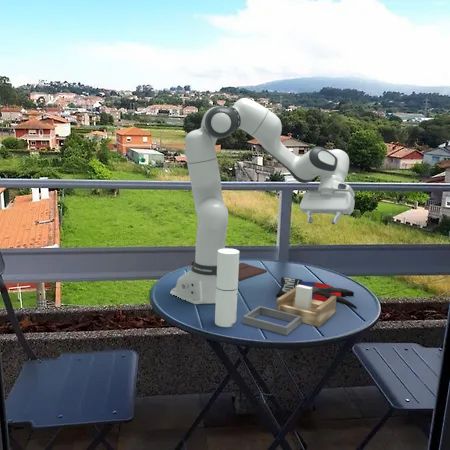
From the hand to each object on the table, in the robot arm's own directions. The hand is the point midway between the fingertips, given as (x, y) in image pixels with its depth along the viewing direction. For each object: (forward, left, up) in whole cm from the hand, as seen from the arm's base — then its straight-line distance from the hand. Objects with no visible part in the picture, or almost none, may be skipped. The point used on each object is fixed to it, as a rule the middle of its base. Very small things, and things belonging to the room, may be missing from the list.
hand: (321, 223), depth 174 cm
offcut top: (+1, -9, -28) cm, 29 cm away
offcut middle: (+1, -9, -30) cm, 31 cm away
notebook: (-43, +20, -33) cm, 58 cm away
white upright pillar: (+1, -14, -31) cm, 34 cm away
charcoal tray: (-5, -26, -32) cm, 42 cm away
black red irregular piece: (-4, +12, -33) cm, 35 cm away
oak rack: (+1, -11, -32) cm, 34 cm away
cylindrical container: (-19, -33, -32) cm, 50 cm away
